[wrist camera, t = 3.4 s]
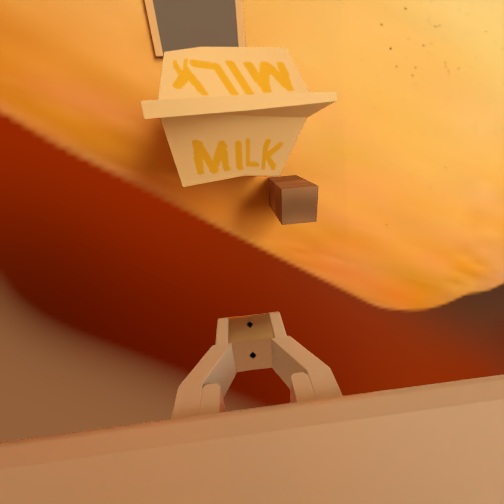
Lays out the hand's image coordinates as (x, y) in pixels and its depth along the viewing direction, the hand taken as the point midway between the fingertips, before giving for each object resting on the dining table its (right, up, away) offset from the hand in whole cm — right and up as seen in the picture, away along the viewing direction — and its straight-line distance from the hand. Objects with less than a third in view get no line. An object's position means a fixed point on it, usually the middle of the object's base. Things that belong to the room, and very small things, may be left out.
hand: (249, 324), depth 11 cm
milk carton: (-3, +17, +15) cm, 23 cm away
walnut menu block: (+4, +12, +18) cm, 22 cm away
